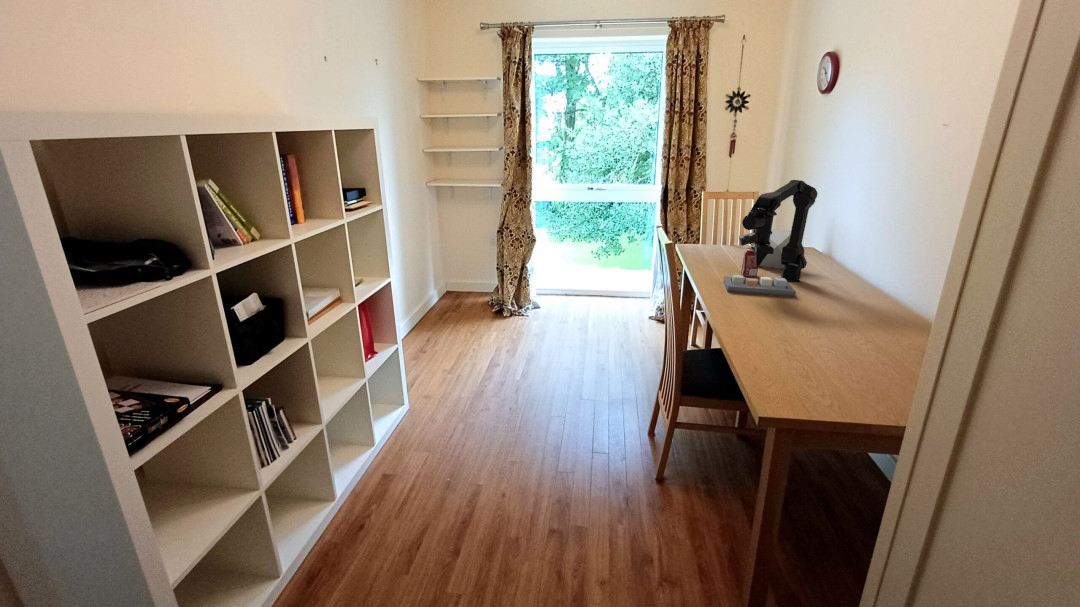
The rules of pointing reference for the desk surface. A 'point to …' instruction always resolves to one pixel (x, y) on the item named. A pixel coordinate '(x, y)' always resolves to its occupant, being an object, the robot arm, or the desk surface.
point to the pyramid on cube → (776, 248)
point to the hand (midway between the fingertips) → (757, 266)
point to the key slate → (780, 282)
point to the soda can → (749, 264)
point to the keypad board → (759, 288)
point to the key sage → (738, 279)
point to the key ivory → (766, 281)
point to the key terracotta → (751, 282)
